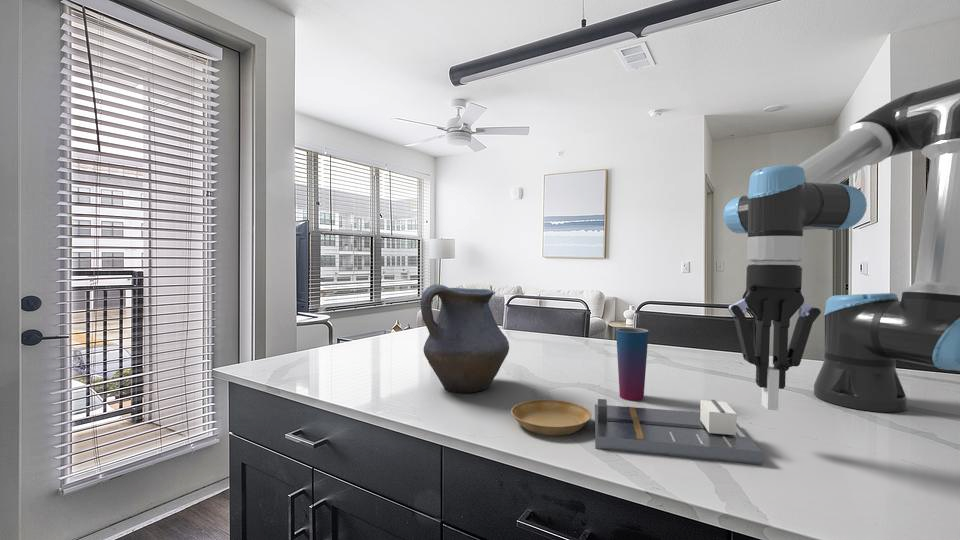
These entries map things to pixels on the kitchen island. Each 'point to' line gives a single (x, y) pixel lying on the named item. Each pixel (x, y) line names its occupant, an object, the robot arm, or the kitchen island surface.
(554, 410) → the plant saucer
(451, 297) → the pitcher
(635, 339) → the cup
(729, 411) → the fader
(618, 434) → the console
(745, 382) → the kitchen island surface
